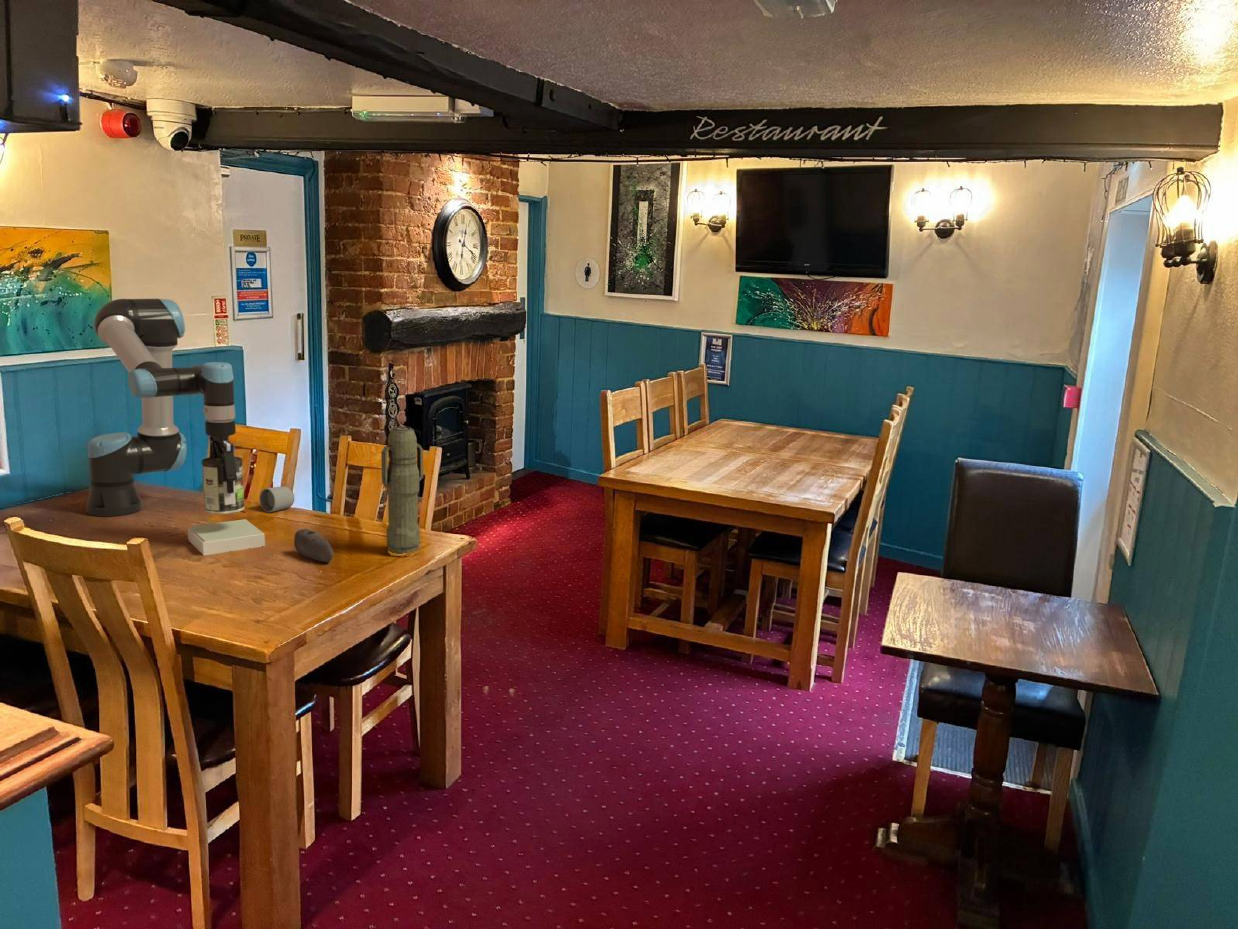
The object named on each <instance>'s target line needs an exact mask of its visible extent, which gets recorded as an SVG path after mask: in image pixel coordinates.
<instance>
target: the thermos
mask: <svg viewBox="0 0 1238 929" xmlns="http://www.w3.org/2000/svg"><path fill="white" fill-rule="evenodd" d="M417 440H418V439H417V436H416V433H415V430H414V428H412V427H410V426H395V427H393V428H391V429H390V431H389V434H388V438H387V444H386V446H383V448H382V450H381V482H382V485H384V486H386V487H385V488H386V489H385V490H386V494H387V499H388V500H387V504H388V506H387V507H388V511H387V513H388V515H387V517H388V524H387V528H386V546H387V550H388V551H390V552H392V553H396V554H403V553H409V552H413V551H416V550H418V548H419V549H420V545H421V540H420V538H421V537H420V536H421V533H420V532H421V530H420V526H419V523H418V522H419V520H418V519H419V518H418V515H419V514H418V512H419V510H418V507H419V506H418V504H419V503H418V495H419V492H420V481H422V479H423V478H424V448H423V447H422V446H421V444H419V443H418V442H417Z"/></svg>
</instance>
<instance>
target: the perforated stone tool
mask: <svg viewBox="0 0 1238 929" xmlns="http://www.w3.org/2000/svg"><path fill="white" fill-rule="evenodd" d="M293 543H294V545H293V546H294V548H295V550H296V551H297V552H298V553H300V554H301V555H303V557H306V558H308V559H311V560H313V559H314V561H317V560H318V561H317V562H320V561H321V562H322V563H329V562H331V561H332V559H333V557H334V551H333V550H334V549H333V547H332V545H331V543H329V541H328V540H327V539H326V538H325V537H323V536H322V535H321V534H320V533H317V532H316V531H313V530H310V529H308V528H302V529H298V530H297V531H296V532H295V534H294V541H293Z"/></svg>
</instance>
